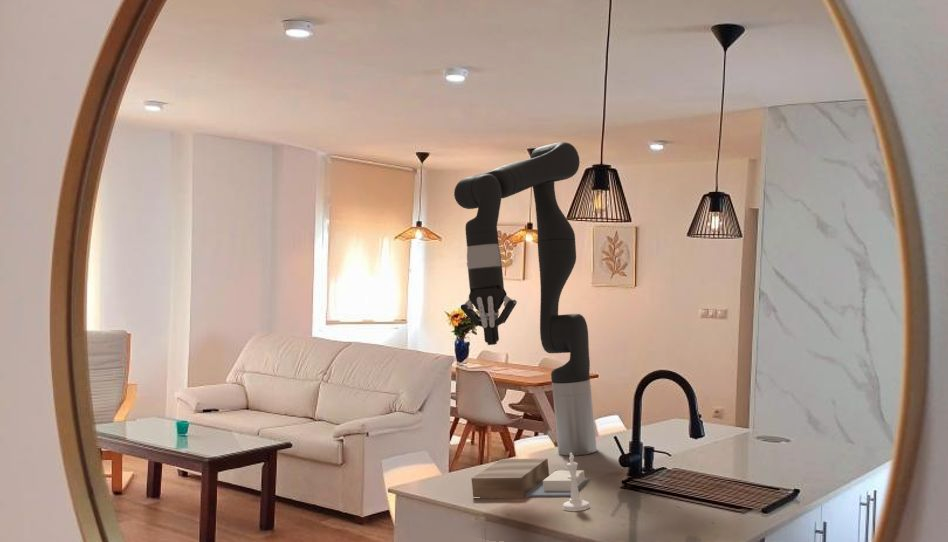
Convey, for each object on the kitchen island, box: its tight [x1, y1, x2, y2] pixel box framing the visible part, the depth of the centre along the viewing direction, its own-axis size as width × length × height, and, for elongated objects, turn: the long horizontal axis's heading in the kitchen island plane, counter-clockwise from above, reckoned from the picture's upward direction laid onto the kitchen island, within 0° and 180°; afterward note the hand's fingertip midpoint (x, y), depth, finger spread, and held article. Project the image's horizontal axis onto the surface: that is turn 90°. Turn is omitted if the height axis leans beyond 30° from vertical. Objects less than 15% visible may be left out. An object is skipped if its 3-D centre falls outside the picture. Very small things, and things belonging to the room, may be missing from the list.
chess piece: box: [562, 453, 591, 512], centre depth 165 cm, size 5×5×10 cm
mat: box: [524, 477, 590, 498], centre depth 181 cm, size 14×10×1 cm
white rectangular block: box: [543, 469, 586, 491], centre depth 181 cm, size 9×6×2 cm, turn 158°
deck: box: [471, 457, 550, 499], centre depth 186 cm, size 18×10×4 cm, turn 159°
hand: (492, 344), depth 198 cm, fingers closed
